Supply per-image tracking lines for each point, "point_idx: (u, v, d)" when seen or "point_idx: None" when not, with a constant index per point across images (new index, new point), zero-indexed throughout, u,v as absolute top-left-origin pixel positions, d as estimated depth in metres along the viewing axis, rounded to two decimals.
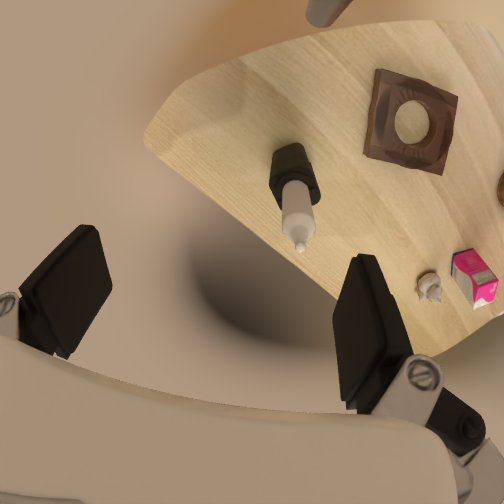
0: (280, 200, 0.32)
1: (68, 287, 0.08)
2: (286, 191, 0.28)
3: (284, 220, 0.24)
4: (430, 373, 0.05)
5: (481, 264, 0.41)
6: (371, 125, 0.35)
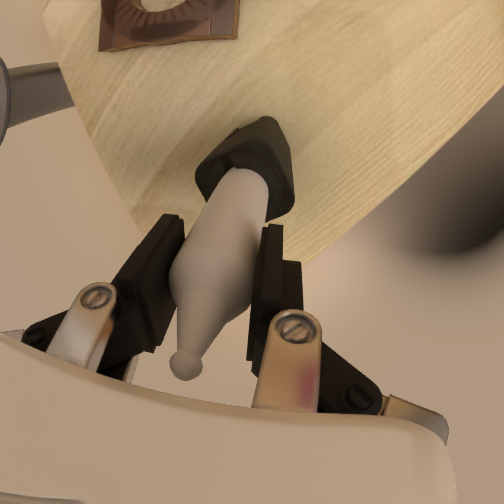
0: None
1: (162, 276, 0.09)
2: None
3: None
4: (303, 324, 0.07)
5: None
6: (181, 38, 0.20)
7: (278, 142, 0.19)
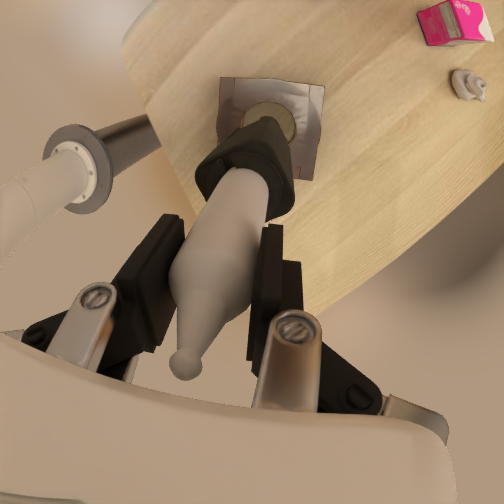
0: None
1: (162, 276, 0.09)
2: None
3: None
4: (303, 324, 0.07)
5: (434, 14, 0.20)
6: None
7: (278, 142, 0.19)
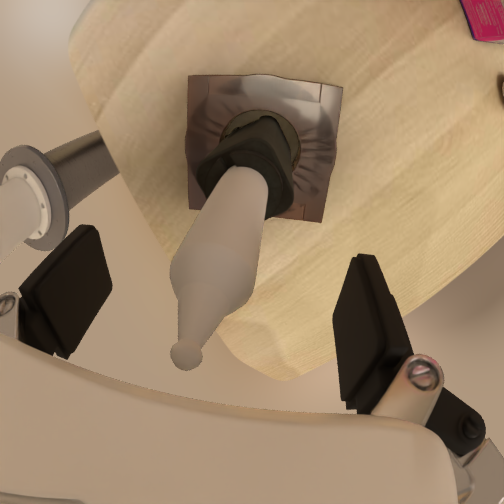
0: None
1: (68, 287, 0.08)
2: None
3: None
4: (430, 373, 0.05)
5: None
6: None
7: (278, 141, 0.19)
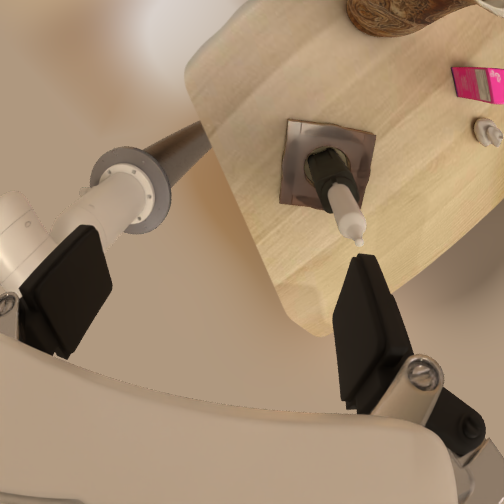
0: None
1: (68, 287, 0.08)
2: None
3: (344, 236, 0.27)
4: (430, 373, 0.05)
5: (469, 74, 0.26)
6: None
7: None
